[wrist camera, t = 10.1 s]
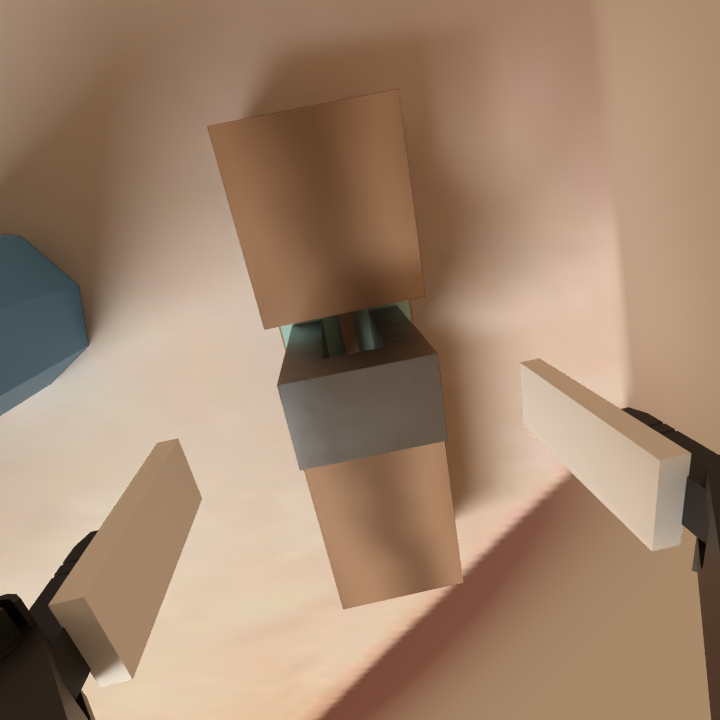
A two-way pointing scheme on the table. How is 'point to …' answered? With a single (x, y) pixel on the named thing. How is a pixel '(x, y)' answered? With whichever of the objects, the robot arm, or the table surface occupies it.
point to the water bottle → (35, 321)
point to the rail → (345, 314)
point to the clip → (361, 393)
